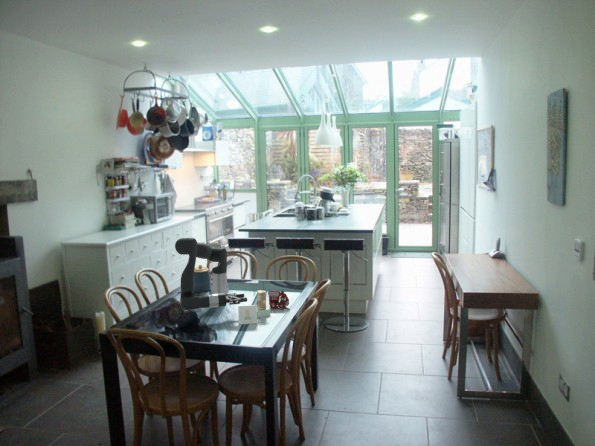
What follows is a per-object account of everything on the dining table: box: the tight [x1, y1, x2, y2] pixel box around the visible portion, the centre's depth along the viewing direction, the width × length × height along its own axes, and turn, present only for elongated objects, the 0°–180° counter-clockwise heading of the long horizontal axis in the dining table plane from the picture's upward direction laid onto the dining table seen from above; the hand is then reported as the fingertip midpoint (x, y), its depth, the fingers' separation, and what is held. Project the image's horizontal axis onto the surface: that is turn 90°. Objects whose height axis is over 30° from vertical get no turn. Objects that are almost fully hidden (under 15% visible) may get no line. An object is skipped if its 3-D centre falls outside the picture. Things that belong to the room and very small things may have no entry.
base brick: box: [257, 306, 271, 319], centre depth 285 cm, size 8×8×4 cm
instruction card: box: [237, 304, 258, 325], centre depth 271 cm, size 10×3×10 cm, turn 96°
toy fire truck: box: [267, 290, 290, 310], centre depth 298 cm, size 7×12×10 cm, turn 81°
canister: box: [193, 264, 212, 293], centre depth 340 cm, size 13×13×18 cm
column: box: [256, 289, 267, 310], centre depth 284 cm, size 4×4×10 cm
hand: (245, 297), depth 281 cm, fingers open, 8 cm apart
